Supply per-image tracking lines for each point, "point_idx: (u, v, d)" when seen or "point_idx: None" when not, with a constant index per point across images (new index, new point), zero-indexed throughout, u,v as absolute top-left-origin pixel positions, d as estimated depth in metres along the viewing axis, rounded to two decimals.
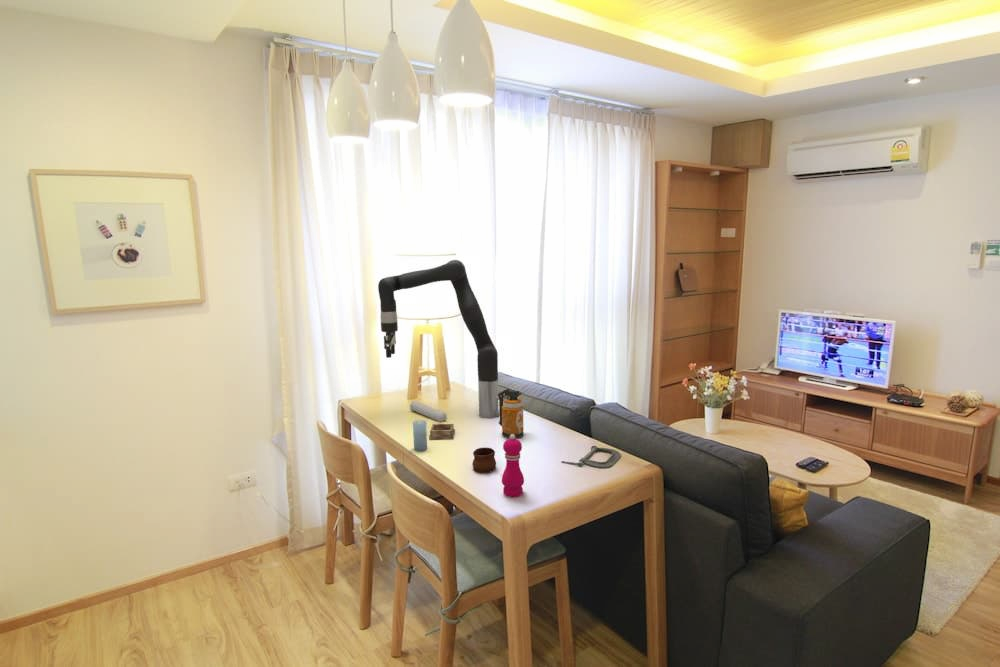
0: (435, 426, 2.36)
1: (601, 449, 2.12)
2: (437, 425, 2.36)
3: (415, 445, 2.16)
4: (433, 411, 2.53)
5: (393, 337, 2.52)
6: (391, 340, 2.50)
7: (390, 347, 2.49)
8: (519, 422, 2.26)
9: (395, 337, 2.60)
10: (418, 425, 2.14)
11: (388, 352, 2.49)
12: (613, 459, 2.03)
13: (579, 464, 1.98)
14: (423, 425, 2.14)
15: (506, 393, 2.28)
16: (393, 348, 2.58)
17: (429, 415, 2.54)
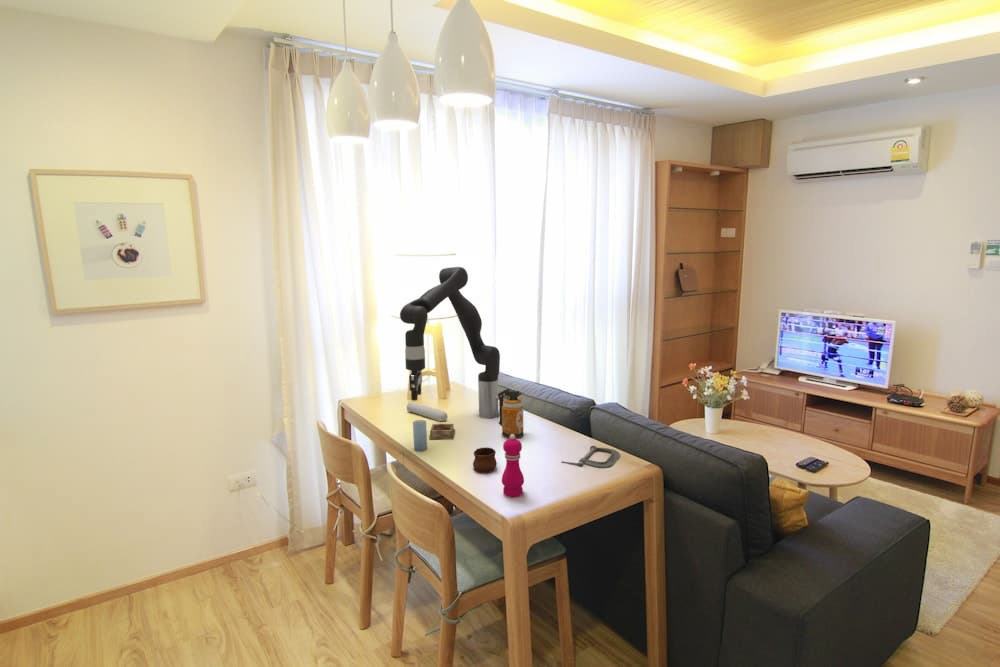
0: (435, 426, 2.36)
1: (600, 449, 2.12)
2: (437, 425, 2.36)
3: (415, 445, 2.16)
4: (433, 411, 2.53)
5: (420, 376, 2.13)
6: (417, 380, 2.11)
7: (416, 388, 2.10)
8: (519, 422, 2.26)
9: (421, 375, 2.21)
10: (418, 425, 2.14)
11: (414, 394, 2.10)
12: (613, 459, 2.03)
13: (579, 464, 1.98)
14: (423, 425, 2.14)
15: (506, 393, 2.28)
16: (419, 388, 2.19)
17: (429, 415, 2.54)
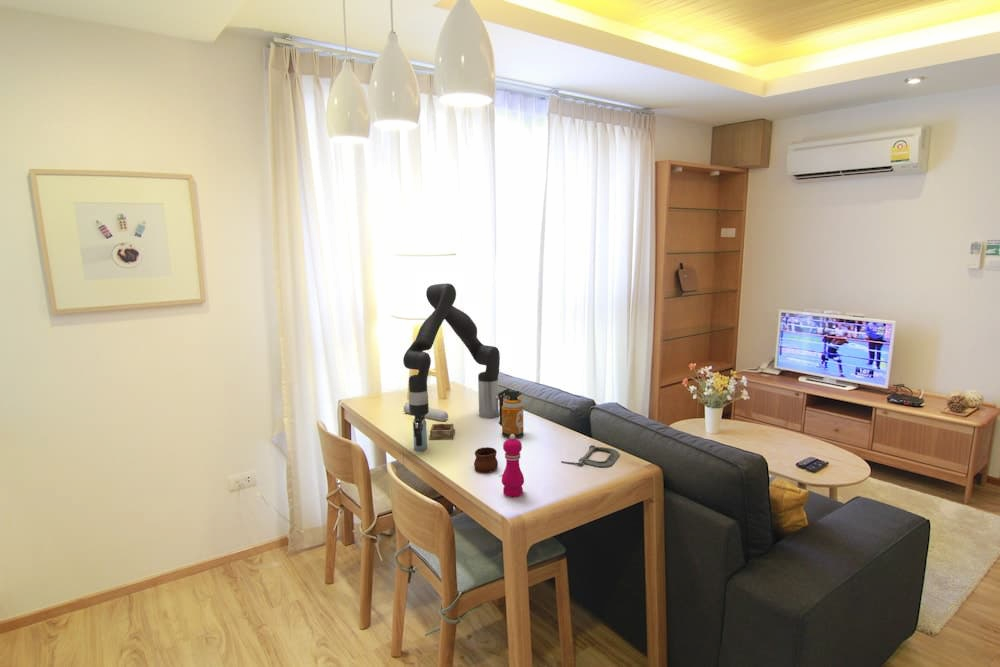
0: (435, 426, 2.36)
1: (599, 448, 2.12)
2: (437, 425, 2.36)
3: (415, 445, 2.16)
4: (433, 411, 2.53)
5: (423, 420, 2.15)
6: None
7: (421, 435, 2.13)
8: (519, 422, 2.26)
9: None
10: None
11: (419, 440, 2.13)
12: (612, 458, 2.04)
13: (579, 464, 1.99)
14: (423, 425, 2.14)
15: (506, 393, 2.28)
16: None
17: (429, 415, 2.54)
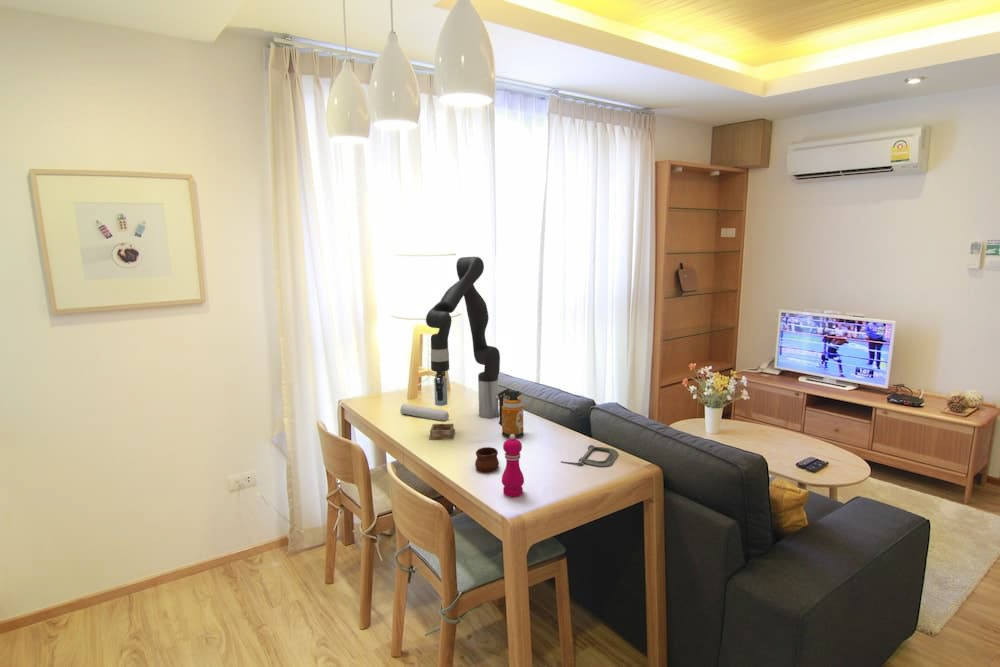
0: (435, 426, 2.36)
1: (598, 448, 2.13)
2: (437, 425, 2.36)
3: (436, 400, 2.28)
4: (434, 411, 2.53)
5: (444, 377, 2.27)
6: (443, 381, 2.26)
7: (442, 390, 2.25)
8: (519, 422, 2.26)
9: None
10: None
11: (440, 395, 2.26)
12: (611, 458, 2.04)
13: (579, 464, 1.99)
14: (444, 381, 2.27)
15: (506, 393, 2.28)
16: None
17: (429, 416, 2.53)
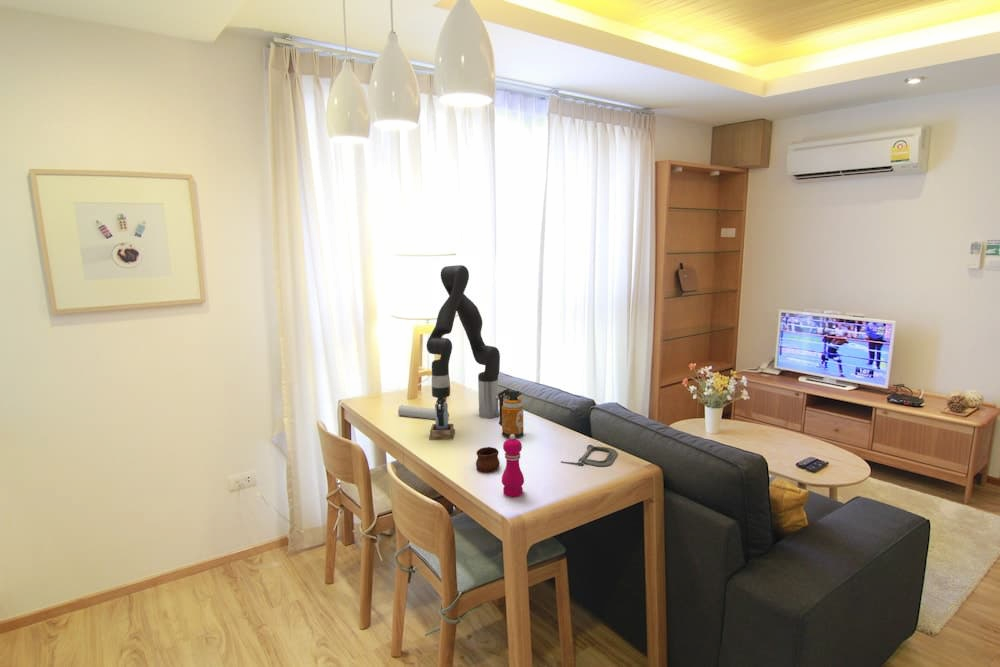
0: (435, 426, 2.36)
1: (597, 448, 2.13)
2: None
3: (437, 426, 2.30)
4: (434, 411, 2.53)
5: (445, 402, 2.29)
6: None
7: None
8: (519, 422, 2.26)
9: None
10: None
11: (441, 421, 2.28)
12: (611, 457, 2.05)
13: (579, 464, 1.99)
14: (445, 407, 2.29)
15: (506, 393, 2.28)
16: None
17: (429, 416, 2.53)
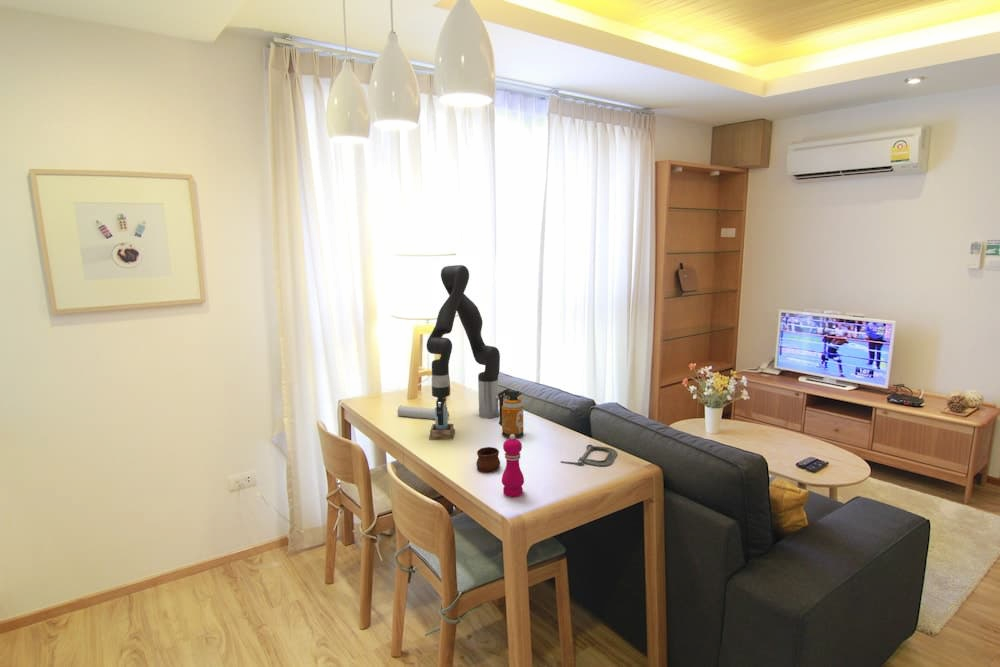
0: (435, 426, 2.36)
1: (597, 448, 2.13)
2: None
3: None
4: (434, 411, 2.53)
5: (445, 402, 2.29)
6: (443, 406, 2.27)
7: None
8: (519, 422, 2.26)
9: None
10: None
11: (440, 419, 2.26)
12: (611, 457, 2.05)
13: (579, 463, 1.99)
14: (444, 411, 2.29)
15: (506, 393, 2.28)
16: None
17: (429, 416, 2.53)
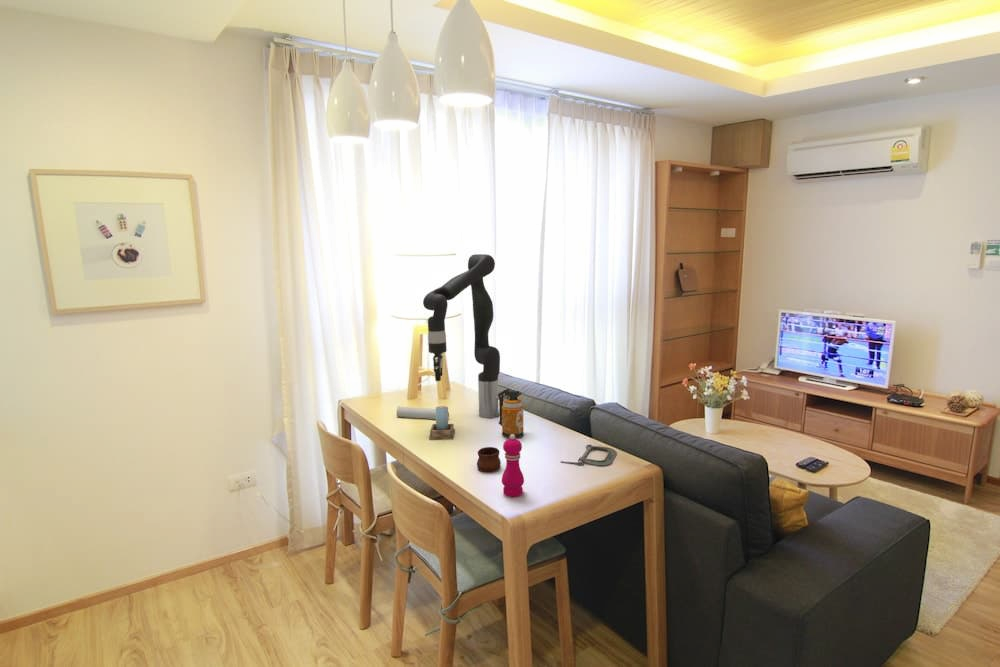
0: (435, 426, 2.36)
1: (596, 447, 2.13)
2: None
3: (437, 429, 2.30)
4: (434, 411, 2.53)
5: (442, 358, 2.31)
6: (440, 362, 2.30)
7: (440, 370, 2.28)
8: (519, 422, 2.26)
9: None
10: (441, 410, 2.28)
11: (438, 375, 2.28)
12: (610, 457, 2.05)
13: (579, 463, 1.99)
14: (445, 410, 2.29)
15: (506, 393, 2.28)
16: (441, 370, 2.38)
17: (429, 416, 2.53)
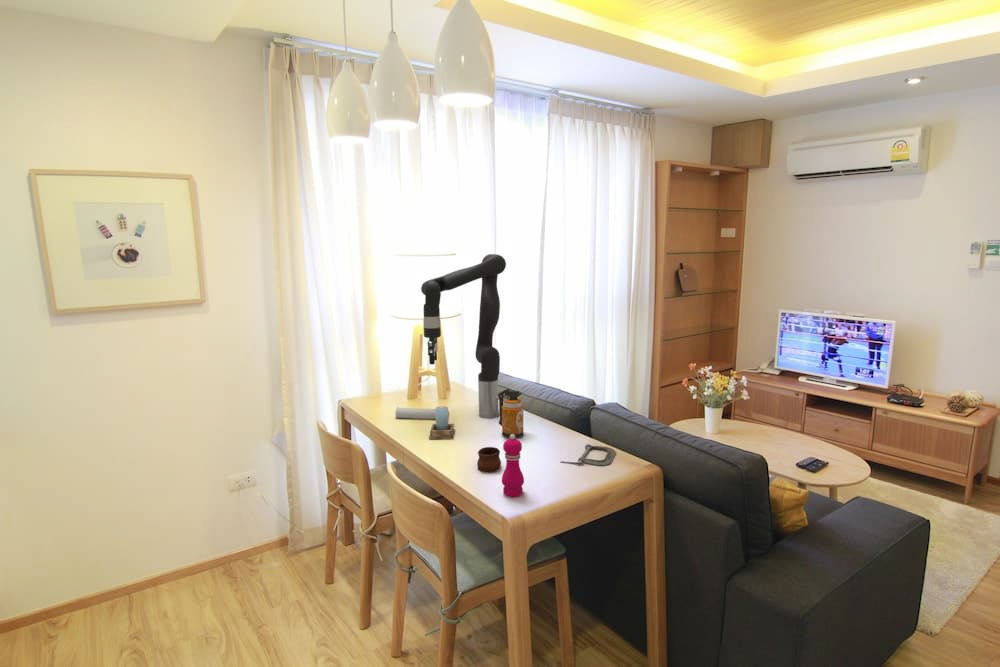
0: (435, 426, 2.36)
1: (595, 447, 2.14)
2: None
3: (437, 429, 2.30)
4: (435, 411, 2.53)
5: (436, 343, 2.42)
6: (434, 346, 2.40)
7: (434, 353, 2.39)
8: (519, 422, 2.26)
9: None
10: (441, 411, 2.28)
11: (432, 359, 2.39)
12: (610, 456, 2.06)
13: (579, 463, 1.99)
14: (446, 411, 2.29)
15: (506, 393, 2.28)
16: (435, 354, 2.48)
17: (430, 416, 2.53)
